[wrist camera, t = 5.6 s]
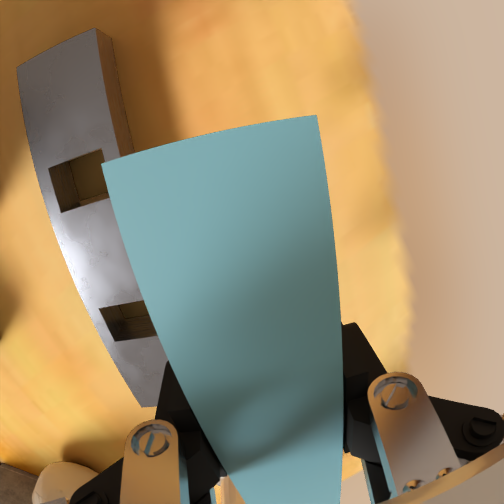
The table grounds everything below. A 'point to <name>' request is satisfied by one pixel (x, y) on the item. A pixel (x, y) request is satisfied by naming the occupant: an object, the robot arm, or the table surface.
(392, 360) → the table surface
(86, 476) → the skull
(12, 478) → the flask
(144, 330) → the slot rail
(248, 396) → the strip
